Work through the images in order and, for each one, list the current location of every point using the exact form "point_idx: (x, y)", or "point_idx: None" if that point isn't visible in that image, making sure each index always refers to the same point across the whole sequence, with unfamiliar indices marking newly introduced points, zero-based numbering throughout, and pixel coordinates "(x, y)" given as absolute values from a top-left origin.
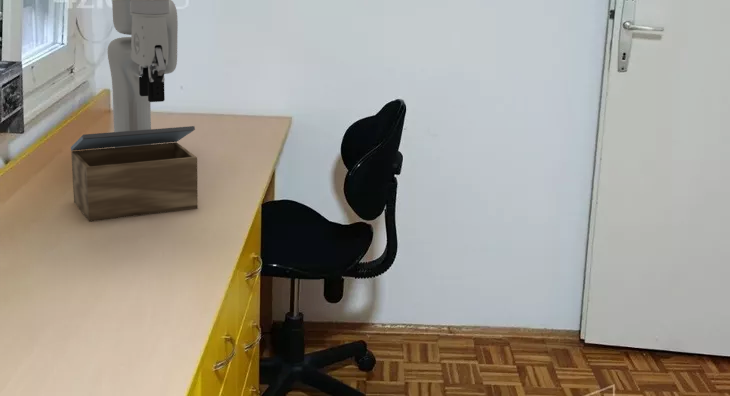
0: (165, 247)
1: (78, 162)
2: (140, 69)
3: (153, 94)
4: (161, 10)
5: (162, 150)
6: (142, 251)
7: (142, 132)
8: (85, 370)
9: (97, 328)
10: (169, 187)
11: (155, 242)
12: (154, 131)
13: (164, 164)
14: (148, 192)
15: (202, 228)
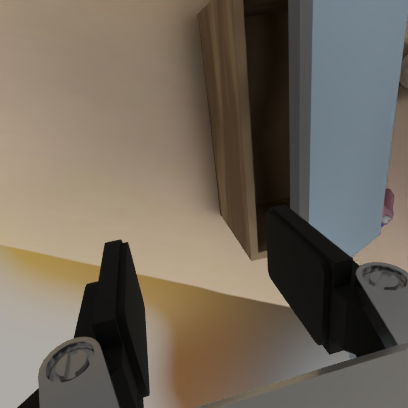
0: (31, 138)
1: None
2: (383, 311)
3: (88, 291)
4: None
5: None
6: (12, 93)
7: (293, 164)
8: None
9: None
10: (228, 183)
11: (61, 124)
12: (293, 199)
13: (243, 191)
14: (222, 141)
15: (123, 210)
